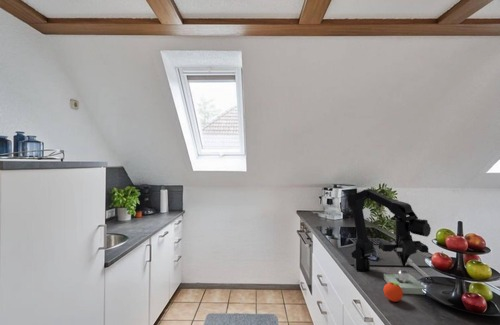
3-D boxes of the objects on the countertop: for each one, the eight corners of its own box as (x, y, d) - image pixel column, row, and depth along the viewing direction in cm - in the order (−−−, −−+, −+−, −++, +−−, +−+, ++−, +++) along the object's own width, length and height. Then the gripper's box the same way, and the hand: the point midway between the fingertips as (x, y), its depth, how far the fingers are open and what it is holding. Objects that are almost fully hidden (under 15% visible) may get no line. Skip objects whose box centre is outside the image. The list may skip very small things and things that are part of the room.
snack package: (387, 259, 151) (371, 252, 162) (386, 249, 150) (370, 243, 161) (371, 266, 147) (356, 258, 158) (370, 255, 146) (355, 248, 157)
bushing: (401, 288, 116) (400, 272, 116) (397, 283, 120) (396, 268, 120) (410, 288, 115) (410, 272, 115) (406, 284, 119) (406, 268, 119)
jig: (396, 293, 111) (396, 287, 111) (383, 278, 125) (383, 273, 125) (426, 294, 110) (426, 288, 110) (410, 279, 124) (410, 274, 124)
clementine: (399, 295, 109) (398, 278, 109) (409, 304, 102) (409, 286, 102) (380, 296, 109) (379, 279, 109) (389, 305, 102) (389, 287, 102)
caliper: (402, 264, 144) (402, 252, 144) (404, 264, 144) (404, 252, 144) (429, 280, 123) (428, 267, 123) (431, 280, 123) (430, 267, 123)
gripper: (388, 235, 111) (388, 272, 111) (435, 236, 108) (436, 274, 108) (378, 229, 122) (379, 262, 122) (421, 229, 120) (421, 264, 119)
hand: (403, 266), depth 118 cm, fingers closed
